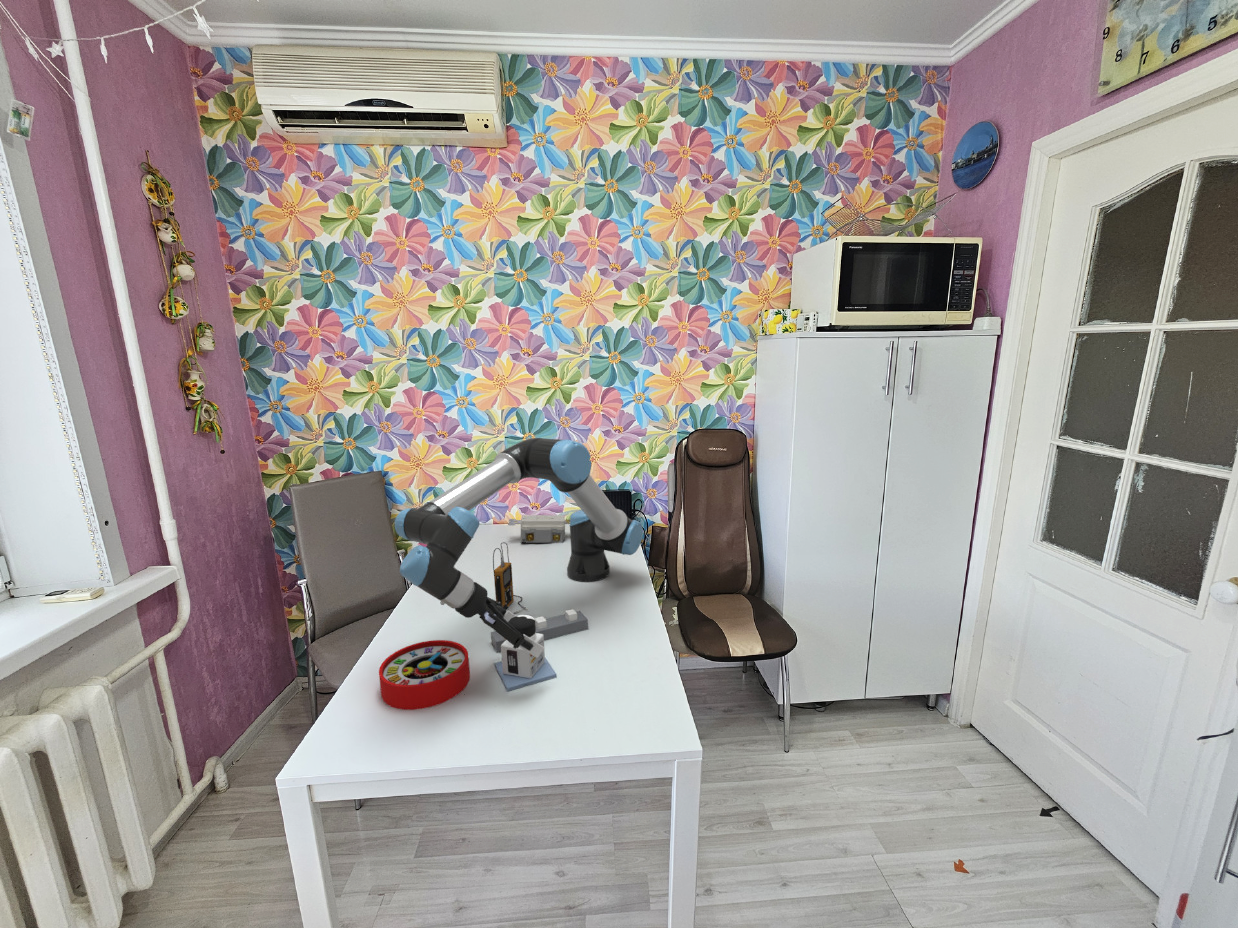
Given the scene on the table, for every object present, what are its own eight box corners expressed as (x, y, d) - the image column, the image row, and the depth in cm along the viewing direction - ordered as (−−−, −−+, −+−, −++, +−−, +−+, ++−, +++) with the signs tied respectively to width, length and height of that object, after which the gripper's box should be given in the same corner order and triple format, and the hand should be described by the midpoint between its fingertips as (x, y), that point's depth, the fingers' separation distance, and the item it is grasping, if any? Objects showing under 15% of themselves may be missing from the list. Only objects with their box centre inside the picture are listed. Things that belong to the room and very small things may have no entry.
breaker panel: (580, 620, 158) (579, 604, 157) (588, 628, 153) (587, 612, 152) (491, 642, 147) (490, 625, 146) (496, 652, 141) (495, 634, 141)
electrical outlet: (509, 536, 233) (509, 514, 231) (575, 536, 237) (576, 514, 235) (507, 545, 222) (507, 522, 220) (577, 545, 226) (577, 522, 224)
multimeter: (522, 618, 160) (518, 554, 156) (491, 616, 162) (486, 552, 158) (539, 597, 174) (536, 538, 170) (510, 595, 176) (506, 536, 172)
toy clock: (358, 678, 121) (416, 635, 140) (361, 701, 123) (418, 655, 141) (434, 693, 115) (484, 646, 134) (436, 717, 117) (486, 667, 135)
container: (531, 679, 128) (528, 628, 125) (502, 673, 130) (498, 624, 128) (545, 662, 135) (543, 613, 133) (518, 657, 137) (515, 609, 135)
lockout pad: (540, 653, 141) (540, 650, 140) (556, 676, 130) (556, 673, 130) (494, 665, 135) (494, 662, 135) (507, 691, 125) (507, 688, 125)
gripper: (444, 588, 133) (508, 630, 142) (463, 632, 111) (537, 678, 120) (464, 564, 134) (526, 606, 144) (487, 603, 112) (559, 650, 122)
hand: (531, 639), depth 132 cm, fingers open, 13 cm apart
